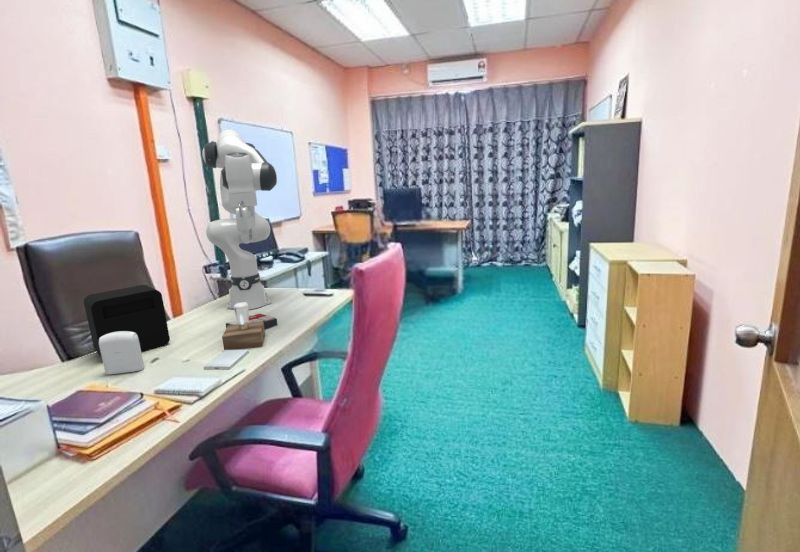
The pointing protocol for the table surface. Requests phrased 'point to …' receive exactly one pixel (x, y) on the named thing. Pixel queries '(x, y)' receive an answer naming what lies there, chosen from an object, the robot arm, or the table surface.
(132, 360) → the photo printer
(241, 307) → the milkshake
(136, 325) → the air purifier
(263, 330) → the walnut base
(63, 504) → the table surface
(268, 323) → the book
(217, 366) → the hard drive
